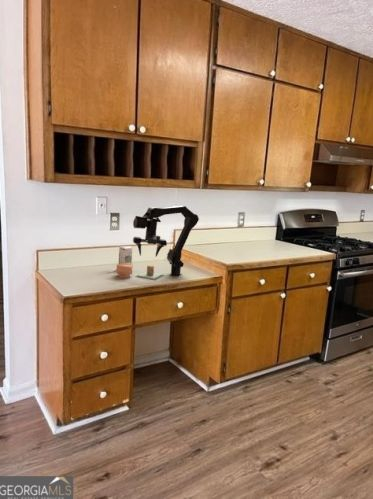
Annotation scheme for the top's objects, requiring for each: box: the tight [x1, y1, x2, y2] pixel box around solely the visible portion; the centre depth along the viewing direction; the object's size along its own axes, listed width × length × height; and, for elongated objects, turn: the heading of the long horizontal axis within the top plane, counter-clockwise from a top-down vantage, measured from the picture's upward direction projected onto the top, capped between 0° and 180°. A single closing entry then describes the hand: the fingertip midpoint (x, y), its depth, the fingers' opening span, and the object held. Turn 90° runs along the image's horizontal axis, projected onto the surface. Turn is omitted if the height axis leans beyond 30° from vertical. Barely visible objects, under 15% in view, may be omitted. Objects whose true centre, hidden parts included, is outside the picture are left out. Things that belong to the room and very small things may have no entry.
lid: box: [136, 265, 164, 281], centre depth 219 cm, size 11×11×6 cm
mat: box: [134, 274, 165, 281], centre depth 219 cm, size 13×13×1 cm
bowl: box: [115, 263, 133, 279], centre depth 215 cm, size 9×9×7 cm
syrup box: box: [118, 245, 133, 265], centre depth 230 cm, size 6×6×14 cm
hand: (148, 256), depth 215 cm, fingers open, 9 cm apart
